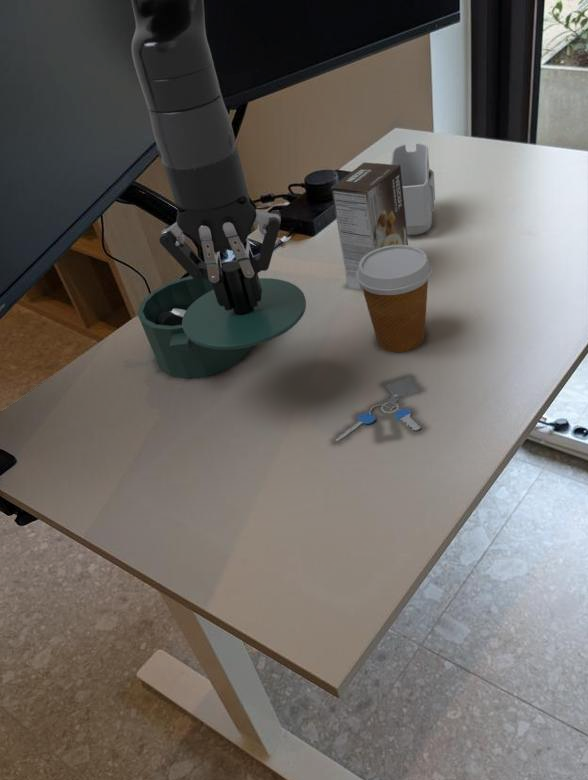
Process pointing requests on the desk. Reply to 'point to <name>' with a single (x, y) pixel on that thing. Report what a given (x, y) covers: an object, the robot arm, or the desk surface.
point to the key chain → (397, 391)
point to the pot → (182, 332)
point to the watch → (169, 315)
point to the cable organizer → (416, 187)
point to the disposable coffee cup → (396, 294)
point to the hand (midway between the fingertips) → (241, 304)
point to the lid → (243, 313)
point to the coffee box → (369, 213)
